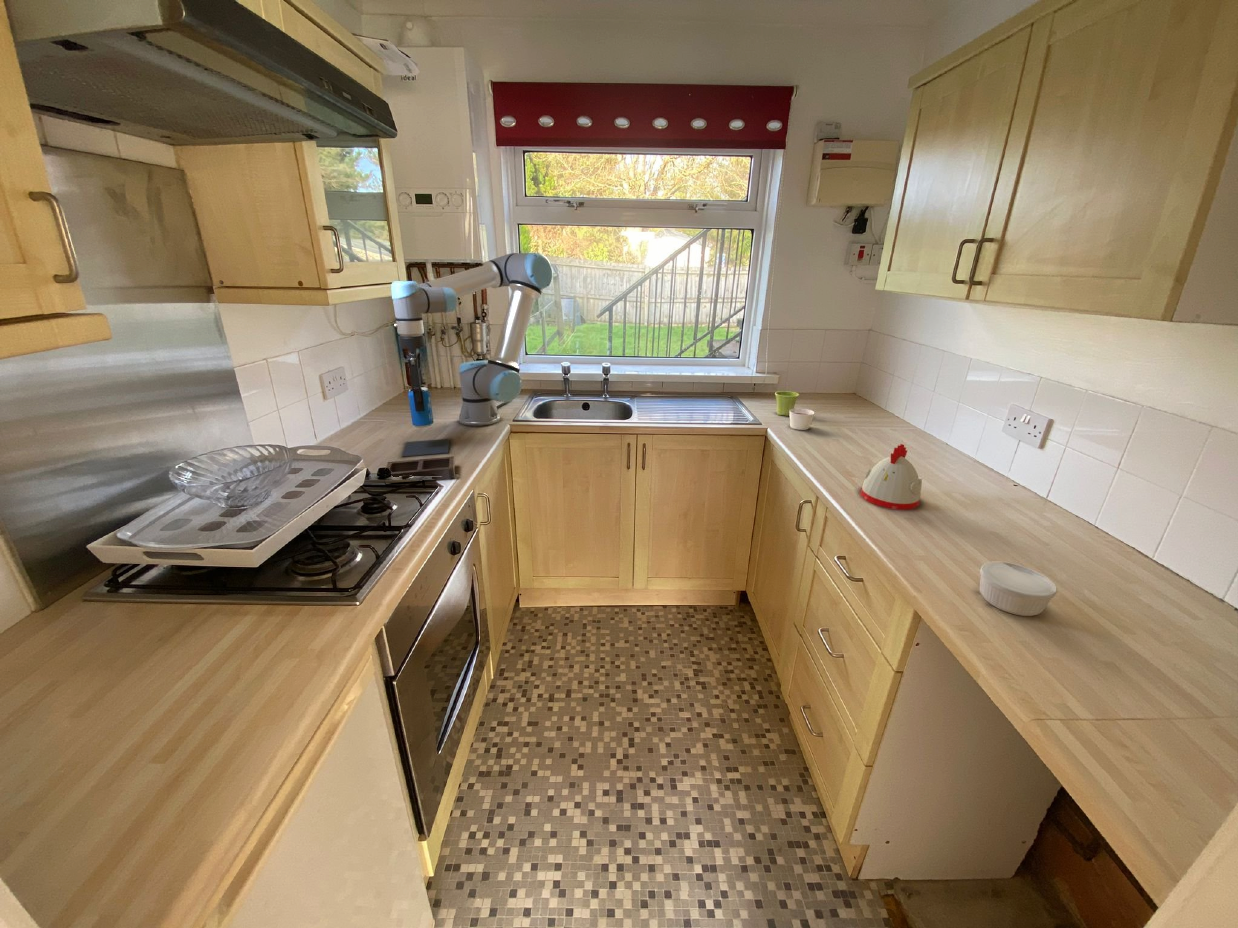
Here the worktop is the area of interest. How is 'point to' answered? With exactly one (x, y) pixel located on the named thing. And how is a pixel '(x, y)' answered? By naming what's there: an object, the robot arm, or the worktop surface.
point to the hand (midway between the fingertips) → (421, 407)
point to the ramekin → (1015, 588)
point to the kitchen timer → (893, 482)
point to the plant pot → (785, 401)
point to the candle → (800, 418)
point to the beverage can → (421, 417)
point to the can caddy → (424, 468)
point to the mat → (426, 448)
